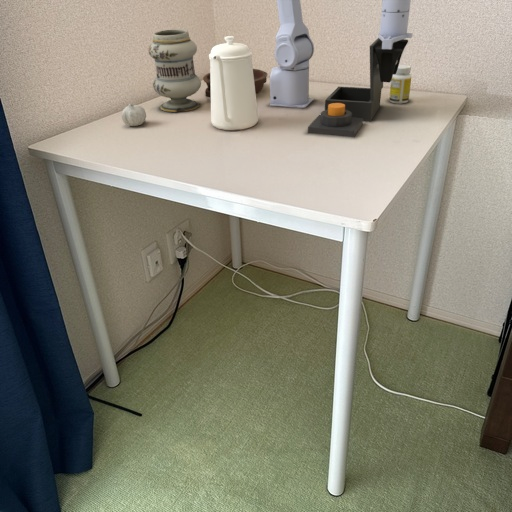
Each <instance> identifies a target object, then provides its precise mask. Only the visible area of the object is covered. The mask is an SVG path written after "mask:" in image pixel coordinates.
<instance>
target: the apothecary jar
mask: <svg viewBox="0 0 512 512" xmlns="http://www.w3.org/2000/svg"><path fill="white" fill-rule="evenodd" d="M197 52H198V47H197V44H196V42H195V41H194V40H193V39H191V37H190V35H189V31H188V30H186V29H182V28H179V29H176V28H174V29H163V30H159V31H156V32H153V34H152V42H151V43H150V45H149V46H148V55H149V56H150V57H151V59H153V60H154V65H155V72H156V78H155V79H154V80H153V83H152V88H153V90H154V92H155V93H156V94H158V95H159V96H161V97H164V98H168V99H169V100H168V101H166V102H163V103H162V104H161V105H160V110H162V111H164V112H167V113H180V112H188V111H193V110H195V109H197V108H199V103H198V102H197V101H196V100H194V99H193V100H192V99H190V98H188V97H191V96H193V95H195V94H196V93H197V92H198V91H199V89H200V88H201V86H202V81H201V79H200V77H199V76H198V75H197V74H196V70H195V64H194V63H195V62H194V56H195V55H196V54H197Z"/></svg>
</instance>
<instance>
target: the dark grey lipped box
mask: <svg viewBox="0 0 512 512" xmlns="http://www.w3.org/2000/svg"><path fill="white" fill-rule="evenodd" d="M382 89H383V88H382ZM382 89H381V91H380V92H379V94H378V95H377V96H376V98H375V99H374V101H370V87H357V86H355V87H354V86H337V87H336V88H335V89H334V91H332V93H331V94H330V95H328V96H327V98H326V99H324V100H325V101H324V111H325V110H328V105H329V104H332V103H342V104H345V110H348V111H350V112H351V113H352V117H356V118H363V122H367V123H369V122H372V120H373V118H374V116H375V115H376V113H377V112H378V110H379V109H380V107H381V100H382V99H381V98H382Z"/></svg>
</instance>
